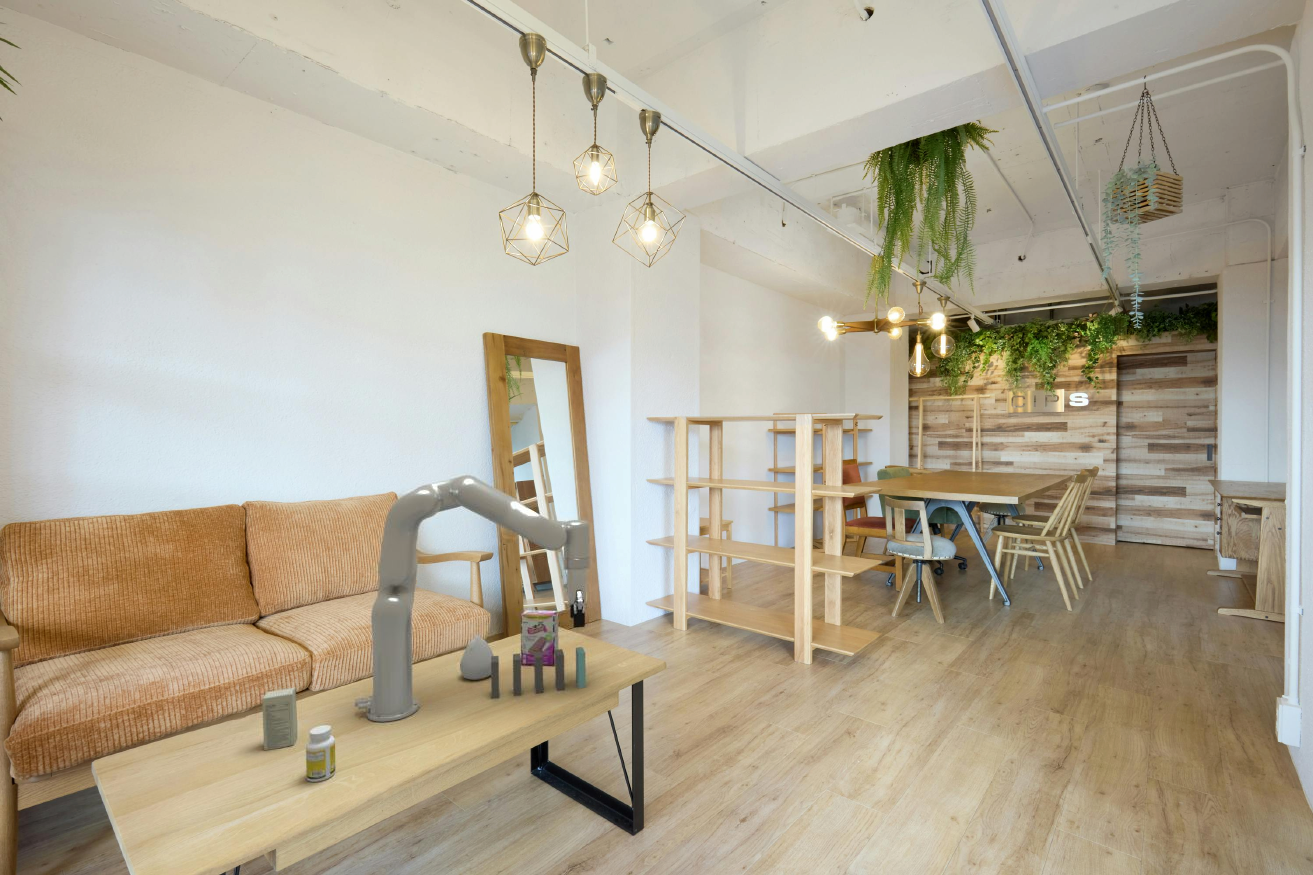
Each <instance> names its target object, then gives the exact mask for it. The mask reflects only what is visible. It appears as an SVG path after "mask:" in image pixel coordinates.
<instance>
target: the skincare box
mask: <svg viewBox="0 0 1313 875" xmlns="http://www.w3.org/2000/svg"><path fill="white" fill-rule="evenodd" d="M261 699H262V701H261V702H262V704H261V705H262V727H263V728H262V729H263V750H264V751H268V750H274V749H279V748H285V747H291V746H294V745H295V744H296V742H297V739H298V718H297V717H298V716H297V714H298V713H297V691H296V687H290V688H289V687H288V688H282V689H277V690H271V691H266V693H265V694H264V695H263V697H262V698H261Z"/></svg>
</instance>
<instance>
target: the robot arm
mask: <svg viewBox="0 0 1313 875" xmlns="http://www.w3.org/2000/svg"><path fill="white" fill-rule="evenodd" d="M460 507H463V508H465V509H467V510H468V511H471V512H473V513H474V514H477V515H478V516H481V517H482V518H485V519H486V520H488V521H491V522H492V523H494V524H495V525H498V526H499V527H502V528H503V529H505V530H508V531H510V532H512V533H514V534H516V535H517V536H519V537H521V538H523V539H525V540H526V541H527V540H528V541H529V542H531V543H533V544H535V545H537V546H539V547H541V548H542V549H545V550H546V551H552V552H555V551H559V550H560V549H562V548H563V570H565V571H566V601H567V604H568V605H569V606H570V607H569V608H570V609H569V610H570V611H569V612H570V614H569V616H570V619H573V620H572V621H573V622H572V624H573V628H576V629H577V628H585V627H586V612H585V605H586V602H587V570H589V569H590V568H591V557H590V555H591V554H590V551H591V550H590V548H591V544H590V543H591V542H590V541H591V540H590V524H589V522H588V521H587V520H583V519H573V520H572V519H571V520H567V521H566V520H565V521H564V520H563V521H562V520H550V519H549V518H546V517H545V516H542V514H539V513H537V512H536V511H534V510H532V509H530V507H527V506H526V505H524V504H523V503H522V502H521V501H520V500H518V499H516V498H515V497H513V496H511V495H509V494H507V493H506V492H503V491H502V490H499V489H497V488H495V487H493V486H491V485H490V484H489V483H486V482H484V481H483V480H480V478H477V477H476V476H474V475H471V474H470V475H468V474H467V475H461V476H458V477H455V478H450V479H446V480H442V481H437V482H433V483H429V484H425V485H421V486H418V487H417V488H415V489H414V490H412V491H410V492H408V493H406V494H404V495H402V496H401V497H399V498H398V499H397V500H396V501H394V503H393V505H392V506H391V507H390V508H389V510H388V512H387V515H386V517H385V521H384V528H383V535H382V541H381V546H380V548H381V549H380V558H379V562H378V566H377V570H378V571H377V573H378V576H379V577H378V587H377V588H378V589H377V596H376V599H375V601H374V603H373V606H372V609H371V615H370V618H371V619H370V620H371V634H372V636H371V638H372V680H373V681H372V691H373V692H372V695H371V696H370V695H369V696H368V697H366V698H363V697H362V698H361V697H360V698H355V700H354V707H355V708H358V710H362V709H364V710H365V709H367V710H366V717H367V719H368V720H370V721H372V722H373V721H374V722H382V723H384V722H393V721H397V720H398V721H399V720H401V719H404V718H407V717H408V716H411V715H413V714H414V713H416V712H417V711H418V709H419V708H420V702H419V700H417V699H416V698H414V697H413V632H412V631H413V628H412V625H413V624H412V623H413V622H412V621H413V620H412V616H413V614H412V612H413V608H414V607H413V606H414V601H415V592H416V591H415V590H416V583H417V582H416V581H417V571H418V562H419V560H418V556H417V550H416V549H417V541H418V536H419V528H420V526H421V523H423V521H424V520H427V519H429V518H432V517H434V516H435V515H436V514H438V513H440V512H445V511H449V510H452V509H457V508H460Z"/></svg>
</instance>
